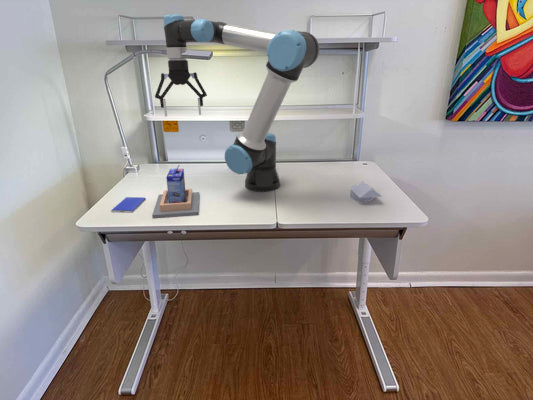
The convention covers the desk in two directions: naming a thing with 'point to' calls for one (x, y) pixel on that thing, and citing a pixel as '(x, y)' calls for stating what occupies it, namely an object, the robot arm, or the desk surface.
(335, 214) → the desk surface
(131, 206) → the hard drive
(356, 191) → the pale grey faceted rock
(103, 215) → the desk surface
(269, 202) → the desk surface
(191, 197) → the grey holder tray
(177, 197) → the ink cartridge box
